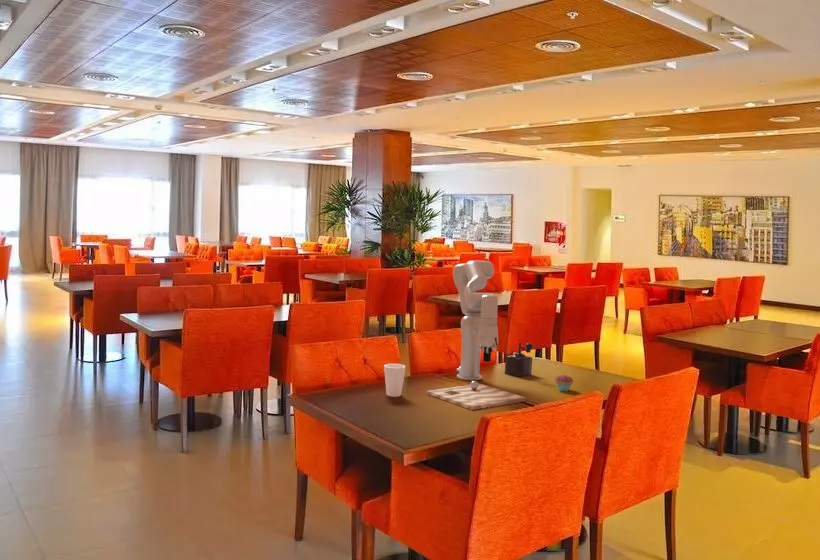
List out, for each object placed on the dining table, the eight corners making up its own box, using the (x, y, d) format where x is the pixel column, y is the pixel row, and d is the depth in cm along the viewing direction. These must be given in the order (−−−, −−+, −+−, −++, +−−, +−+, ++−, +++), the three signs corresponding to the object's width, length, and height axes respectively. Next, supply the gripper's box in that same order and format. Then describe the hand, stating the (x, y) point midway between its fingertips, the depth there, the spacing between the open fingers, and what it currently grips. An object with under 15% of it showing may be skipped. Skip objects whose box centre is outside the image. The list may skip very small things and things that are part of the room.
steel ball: (467, 389, 323) (468, 380, 322) (474, 388, 325) (474, 379, 325) (473, 391, 320) (474, 382, 319) (480, 390, 322) (480, 381, 322)
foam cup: (393, 398, 306) (395, 369, 305) (378, 394, 312) (379, 365, 311) (408, 395, 313) (409, 366, 312) (393, 391, 319) (394, 362, 318)
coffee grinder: (503, 373, 367) (505, 339, 365) (515, 371, 375) (517, 337, 373) (528, 379, 356) (530, 344, 355) (540, 376, 364) (542, 341, 363)
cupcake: (572, 392, 331) (574, 367, 330) (554, 391, 332) (555, 366, 331) (572, 388, 339) (573, 364, 338) (554, 387, 341) (555, 362, 340)
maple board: (426, 394, 316) (427, 390, 316) (479, 386, 335) (479, 383, 335) (471, 410, 292) (472, 406, 292) (525, 400, 312) (526, 397, 312)
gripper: (471, 320, 328) (469, 359, 329) (494, 324, 316) (492, 364, 317) (483, 319, 332) (481, 358, 333) (506, 323, 320) (504, 363, 321)
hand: (486, 361), depth 325 cm, fingers closed
